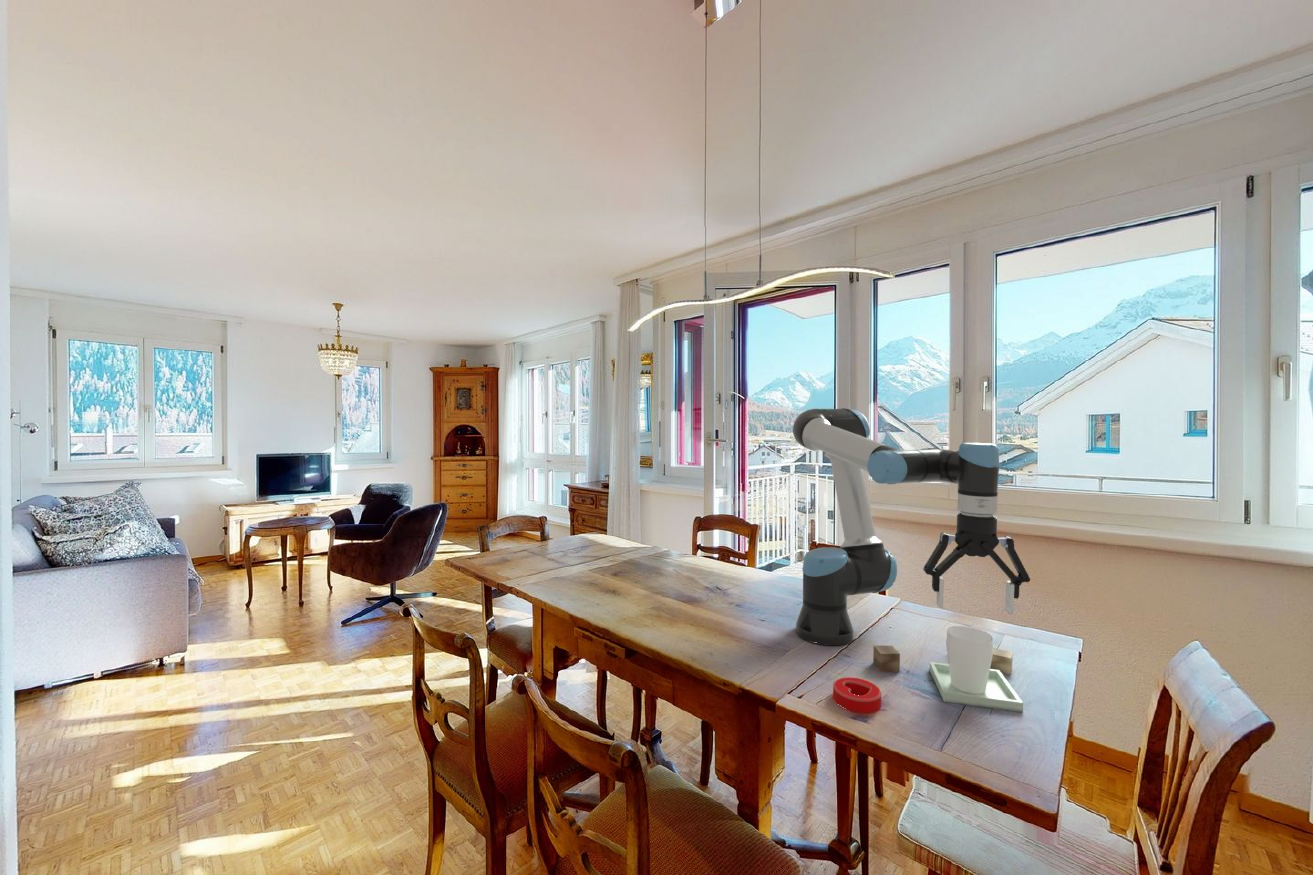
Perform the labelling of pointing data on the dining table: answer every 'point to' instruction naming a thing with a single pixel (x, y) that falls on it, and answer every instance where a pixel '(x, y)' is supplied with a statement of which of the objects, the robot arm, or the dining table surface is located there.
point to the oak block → (1002, 661)
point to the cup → (969, 658)
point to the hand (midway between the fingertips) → (973, 609)
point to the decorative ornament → (860, 704)
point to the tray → (994, 696)
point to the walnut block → (886, 658)
